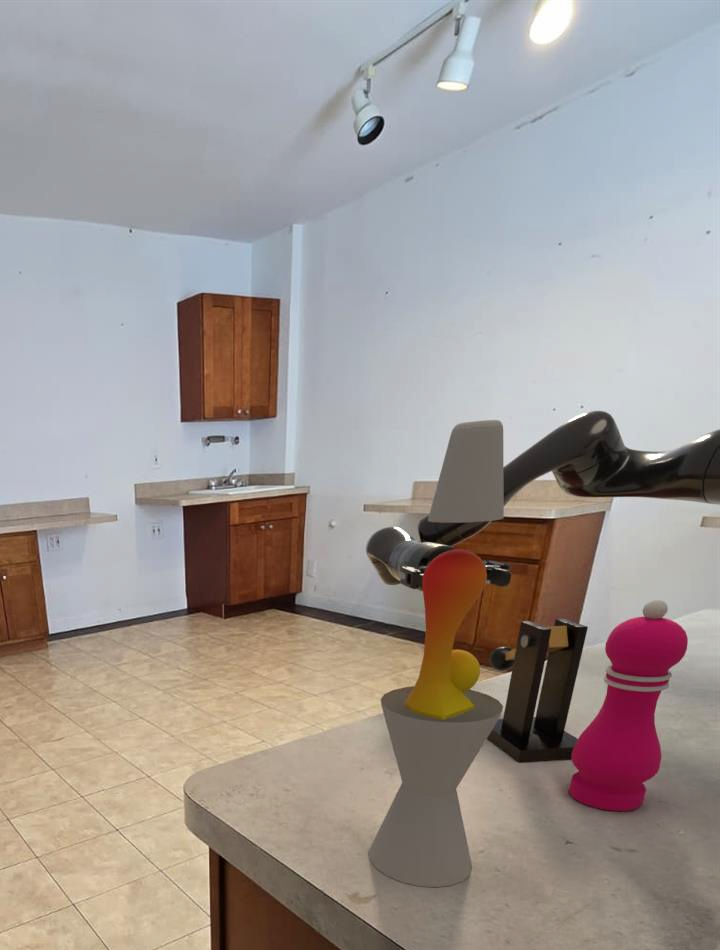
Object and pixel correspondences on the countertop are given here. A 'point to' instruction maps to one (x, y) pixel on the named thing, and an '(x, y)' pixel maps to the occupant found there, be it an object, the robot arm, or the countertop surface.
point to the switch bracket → (546, 730)
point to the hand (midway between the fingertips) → (476, 581)
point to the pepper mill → (628, 713)
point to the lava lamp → (443, 682)
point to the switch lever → (505, 655)
